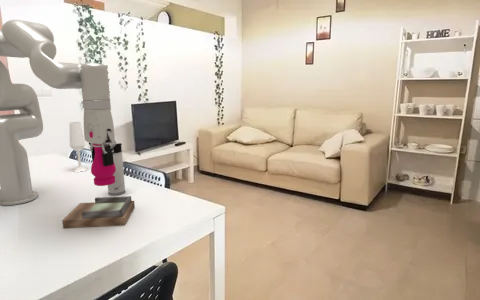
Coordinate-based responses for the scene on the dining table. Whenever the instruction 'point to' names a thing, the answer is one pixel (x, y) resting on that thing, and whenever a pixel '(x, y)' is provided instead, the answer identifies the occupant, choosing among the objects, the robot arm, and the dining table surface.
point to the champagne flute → (77, 142)
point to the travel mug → (117, 173)
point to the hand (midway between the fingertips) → (103, 163)
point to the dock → (100, 213)
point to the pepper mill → (101, 167)
